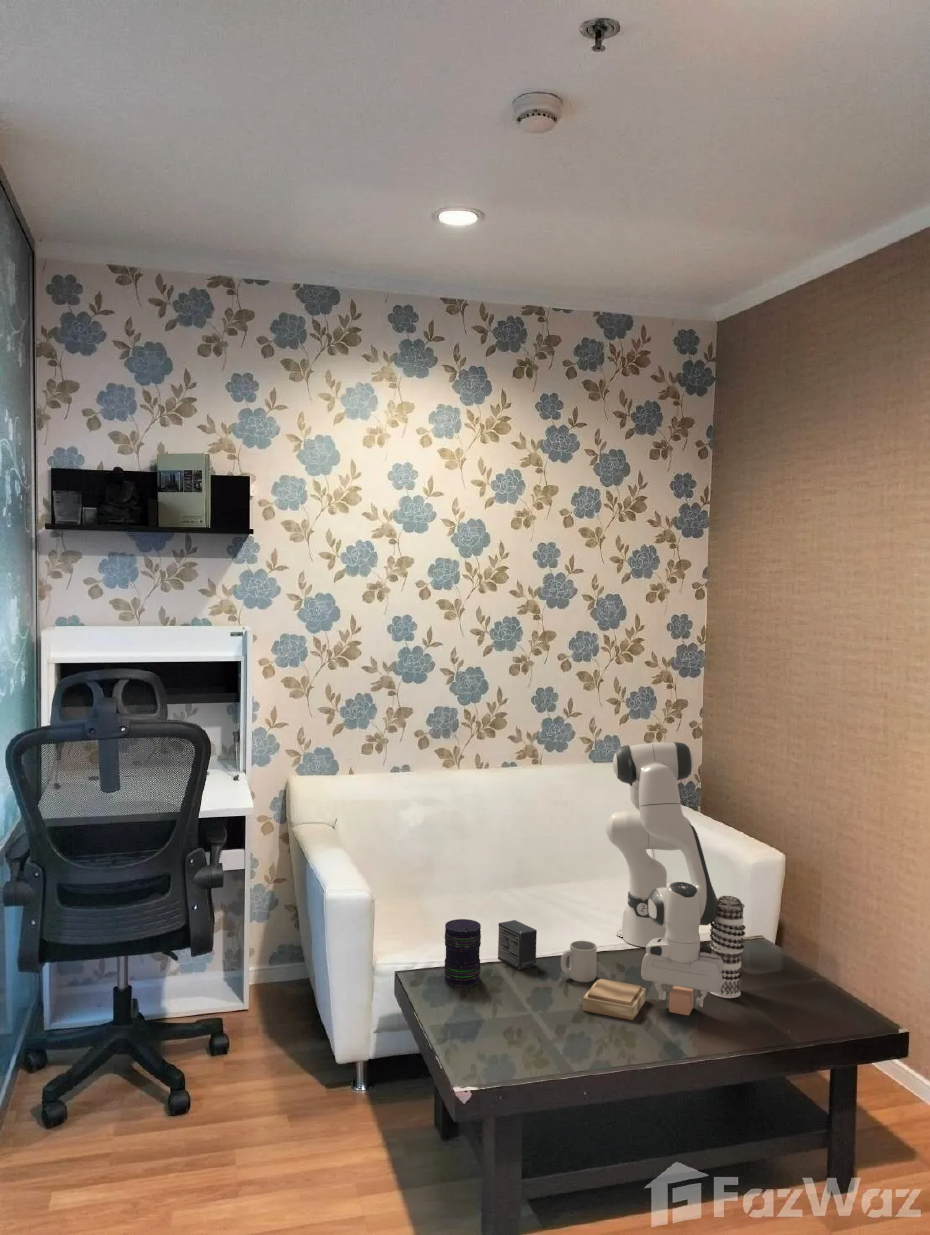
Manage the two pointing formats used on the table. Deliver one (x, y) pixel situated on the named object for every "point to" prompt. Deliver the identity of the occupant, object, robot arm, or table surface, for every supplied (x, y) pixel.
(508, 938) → the small box
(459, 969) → the storage jar
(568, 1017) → the table surface
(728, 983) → the decorative candle
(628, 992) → the plinth
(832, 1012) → the table surface
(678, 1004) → the cube
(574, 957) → the cup
